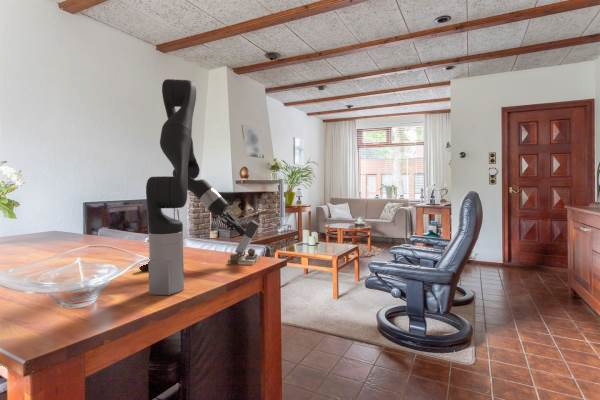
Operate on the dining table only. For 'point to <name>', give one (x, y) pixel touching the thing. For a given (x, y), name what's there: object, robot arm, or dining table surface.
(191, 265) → the dining table surface
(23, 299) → the dining table surface
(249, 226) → the lever
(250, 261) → the cracker base
